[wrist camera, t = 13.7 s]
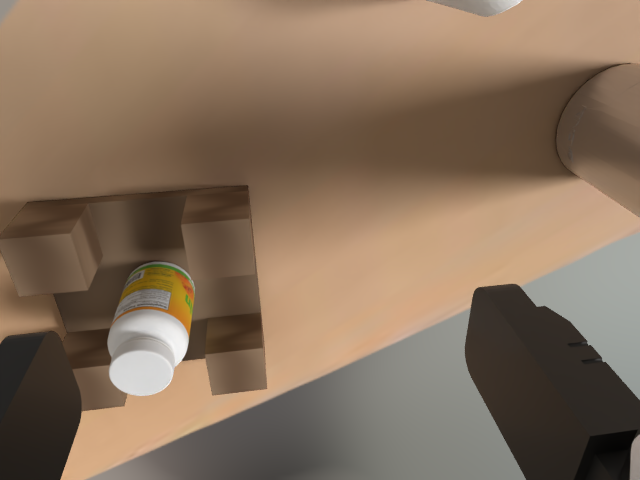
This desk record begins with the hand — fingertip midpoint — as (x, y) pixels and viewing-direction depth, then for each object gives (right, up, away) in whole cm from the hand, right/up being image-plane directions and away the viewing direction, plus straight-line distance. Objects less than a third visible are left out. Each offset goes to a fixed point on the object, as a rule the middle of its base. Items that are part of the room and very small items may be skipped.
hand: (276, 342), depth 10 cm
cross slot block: (-12, -1, +31) cm, 34 cm away
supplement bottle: (-12, -2, +31) cm, 33 cm away
